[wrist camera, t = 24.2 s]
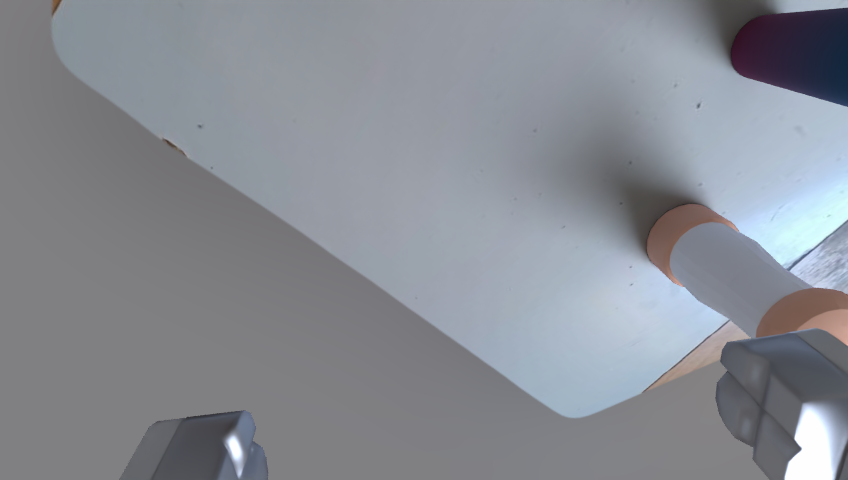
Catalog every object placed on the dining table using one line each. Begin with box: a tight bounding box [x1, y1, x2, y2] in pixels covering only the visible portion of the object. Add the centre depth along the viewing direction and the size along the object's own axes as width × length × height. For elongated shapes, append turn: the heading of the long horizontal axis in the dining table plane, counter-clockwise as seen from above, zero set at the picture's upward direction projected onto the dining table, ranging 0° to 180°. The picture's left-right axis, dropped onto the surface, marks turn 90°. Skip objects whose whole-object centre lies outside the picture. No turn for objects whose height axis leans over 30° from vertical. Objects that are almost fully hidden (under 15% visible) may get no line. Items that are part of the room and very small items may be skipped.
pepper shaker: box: [647, 204, 848, 346], centre depth 41 cm, size 7×7×19 cm
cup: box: [731, 8, 848, 107], centre depth 36 cm, size 7×7×15 cm
